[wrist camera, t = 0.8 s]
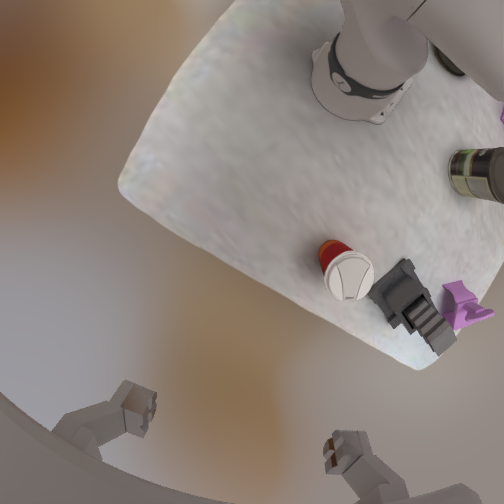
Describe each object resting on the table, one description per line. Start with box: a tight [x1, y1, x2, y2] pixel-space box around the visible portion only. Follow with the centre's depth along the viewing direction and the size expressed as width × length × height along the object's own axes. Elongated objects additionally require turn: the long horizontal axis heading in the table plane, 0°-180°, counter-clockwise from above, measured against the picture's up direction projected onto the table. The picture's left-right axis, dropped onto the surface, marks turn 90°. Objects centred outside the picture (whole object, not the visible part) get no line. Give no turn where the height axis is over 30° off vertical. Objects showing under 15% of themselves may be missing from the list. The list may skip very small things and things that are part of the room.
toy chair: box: [441, 280, 495, 331], centre depth 43 cm, size 8×9×15 cm
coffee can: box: [448, 147, 504, 204], centre depth 36 cm, size 10×10×14 cm
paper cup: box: [318, 240, 374, 301], centre depth 43 cm, size 8×8×14 cm
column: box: [402, 296, 457, 357], centre depth 40 cm, size 4×4×18 cm
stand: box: [368, 259, 436, 335], centre depth 46 cm, size 11×11×10 cm
